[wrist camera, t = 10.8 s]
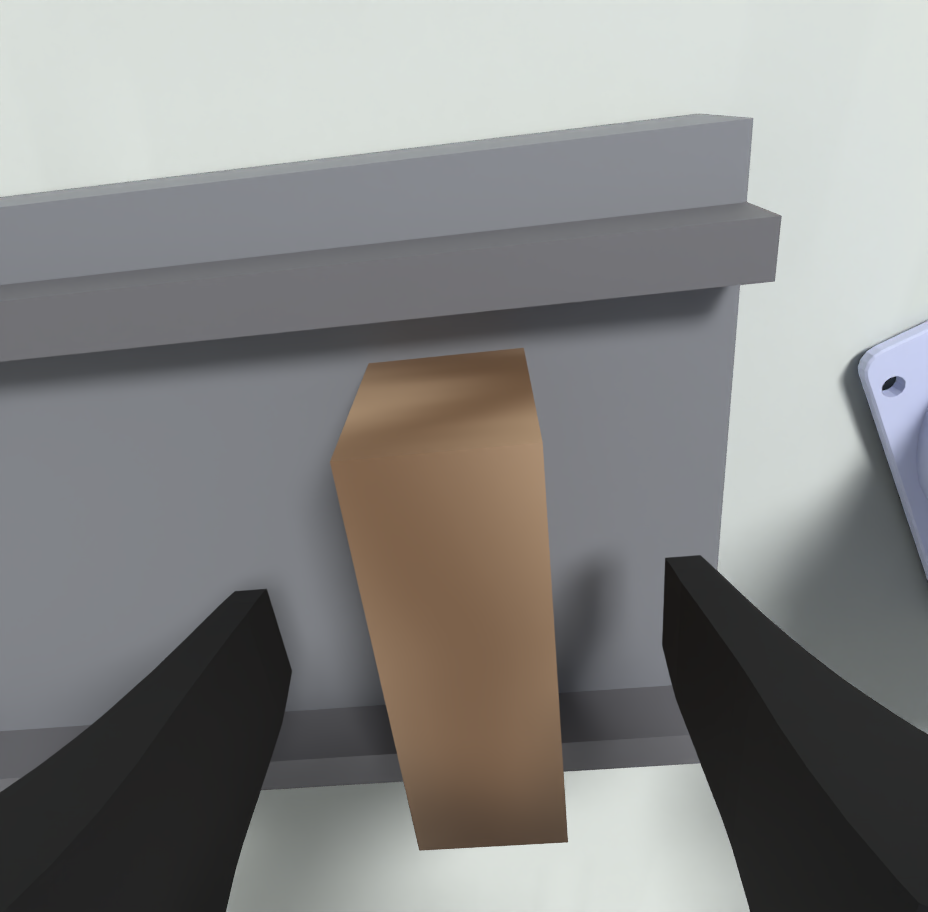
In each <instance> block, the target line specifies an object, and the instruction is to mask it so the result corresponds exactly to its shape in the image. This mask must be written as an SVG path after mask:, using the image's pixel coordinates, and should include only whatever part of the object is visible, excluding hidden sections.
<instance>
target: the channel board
mask: <svg viewBox="0 0 928 912" xmlns="http://www.w3.org/2000/svg"><path fill="white" fill-rule="evenodd" d="M752 128H753V118H746V117H733V116H721V115H709V114H693V115H684V116H676V117H668V118H659V119H651V120H643V121H634V122H626V123H618V124H609V125H601V126H592V127H584V128H576V129H567V130H559V131H551V132H542V133H534V134H525V135H517V136H509V137H500V138H492V139H484V140H475V141H467V142H459V143H450V144H442V145H433V146H425V147H417V148H408V149H400V150H392V151H383V152H375V153H367V154H358V155H350V156H341V157H333V158H325V159H316V160H308V161H300V162H291V163H283V164H275V165H266V166H258V167H249V168H241V169H233V170H224V171H216V172H208V173H199V174H191V175H182V176H174V177H166V178H157V179H149V180H141V181H132V182H124V183H116V184H107V185H99V186H90V187H82V188H74V189H65V190H57V191H49V192H40V193H32V194H23V195H15V196H7V197H0V792H1V791H3V790H4V789H6V788H7V787H9V786H10V785H11V784H13V783H14V782H16V781H17V780H19V779H20V778H22V777H23V776H25V775H26V774H27V773H29V772H30V771H32V770H33V769H35V768H36V767H37V766H39V765H40V764H42V763H43V762H44V761H46V760H47V759H48V758H50V757H51V756H52V755H54V754H55V753H56V752H57V751H59V750H60V749H61V748H63V747H64V746H65V745H67V744H68V743H69V742H70V741H72V740H73V739H74V738H76V737H77V736H78V735H79V734H81V733H82V732H83V731H84V730H86V729H87V728H88V727H89V726H90V725H92V724H93V723H94V722H95V721H97V720H98V719H99V718H100V717H101V716H102V715H104V714H105V713H106V712H107V711H108V710H109V709H110V708H112V707H113V706H114V705H115V704H116V703H117V702H118V701H119V700H121V699H122V698H123V697H124V696H125V695H126V694H127V693H128V692H129V691H131V690H132V689H133V688H134V687H135V686H136V685H137V684H138V683H140V682H141V681H142V680H143V679H144V678H145V677H146V676H147V675H148V674H150V673H151V672H152V671H153V670H154V669H155V668H156V667H157V666H158V665H159V664H160V663H161V662H162V661H163V660H164V659H165V658H166V657H167V656H168V655H169V654H170V653H171V652H172V651H174V650H175V649H176V648H177V647H178V646H179V645H180V644H181V643H182V642H183V641H184V640H185V639H186V638H187V637H188V636H189V635H190V634H191V633H192V632H193V631H194V630H195V629H196V628H197V627H198V626H199V625H200V624H201V623H202V622H203V621H204V620H205V619H206V618H207V617H208V616H209V615H210V614H211V613H212V612H213V611H214V610H215V609H216V608H217V607H218V606H219V605H220V604H221V603H222V602H223V601H224V600H226V599H227V598H228V597H229V596H230V595H231V594H232V593H233V592H234V591H244V590H257V589H267V591H268V594H269V597H270V601H271V604H272V607H273V610H274V614H275V617H276V620H277V623H278V627H279V630H280V633H281V636H282V639H283V643H284V646H285V649H286V652H287V656H288V659H289V662H290V665H291V669H292V675H291V681H290V686H289V692H288V698H287V703H286V708H285V713H284V718H283V723H282V726H281V729H280V733H279V736H278V739H277V742H276V745H275V748H274V751H273V754H272V758H271V761H270V764H269V767H268V770H267V773H266V776H265V779H264V782H263V785H262V788H261V790H271V789H287V788H303V787H320V786H336V785H352V784H369V783H385V782H401V781H403V777H402V773H401V769H400V764H399V760H398V756H397V751H396V747H395V743H394V738H393V734H392V730H391V725H390V721H389V717H388V712H387V708H386V704H385V699H384V695H383V690H382V686H381V682H380V677H379V673H378V669H377V664H376V660H375V656H374V651H373V647H372V643H371V638H370V634H369V630H368V625H367V621H366V617H365V612H364V608H363V604H362V599H361V595H360V591H359V586H358V582H357V578H356V573H355V569H354V564H353V560H352V556H351V551H350V547H349V543H348V538H347V534H346V530H345V525H344V521H343V517H342V512H341V508H340V504H339V499H338V495H337V491H336V486H335V482H334V478H333V473H332V469H331V465H330V460H331V458H332V455H333V453H334V450H335V448H336V445H337V443H338V440H339V437H340V435H341V432H342V430H343V427H344V425H345V422H346V420H347V417H348V415H349V412H350V409H351V407H352V404H353V402H354V399H355V397H356V394H357V392H358V389H359V387H360V384H361V381H362V379H363V376H364V374H365V371H366V369H367V366H368V364H369V363H377V362H387V361H397V360H407V359H417V358H426V357H436V356H446V355H456V354H466V353H476V352H486V351H496V350H506V349H515V348H524V351H525V356H526V361H527V366H528V371H529V376H530V381H531V386H532V391H533V396H534V401H535V406H536V411H537V417H538V422H539V427H540V432H541V437H542V442H543V456H544V472H545V488H546V504H547V519H548V535H549V551H550V567H551V583H552V599H553V614H554V630H555V646H556V662H557V678H558V694H559V709H560V725H561V741H562V757H563V772H565V771H581V770H597V769H614V768H630V767H646V766H663V765H679V764H695V763H700V761H699V758H698V756H697V753H696V750H695V748H694V745H693V743H692V740H691V738H690V735H689V732H688V730H687V727H686V725H685V722H684V719H683V717H682V714H681V712H680V709H679V706H678V704H677V701H676V698H675V694H674V691H673V687H672V683H671V679H670V676H669V672H668V668H667V663H666V659H665V655H664V651H663V647H662V632H663V604H664V575H665V558H669V557H682V556H695V555H701V556H702V557H703V558H704V559H705V560H707V561H708V562H709V563H710V564H711V565H712V566H713V567H714V568H715V569H716V570H717V565H718V552H719V540H720V528H721V515H722V503H723V490H724V478H725V465H726V453H727V440H728V428H729V415H730V403H731V390H732V378H733V365H734V353H735V340H736V328H737V315H738V303H739V290H740V285H745V284H754V283H764V282H773V281H775V274H776V264H777V254H778V245H779V235H780V225H781V215H778V214H776V213H773V212H771V211H768V210H765V209H763V208H760V207H758V206H755V205H753V204H750V203H748V202H747V190H748V178H749V165H750V153H751V141H752Z"/></svg>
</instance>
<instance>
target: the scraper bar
mask: <svg viewBox="0 0 928 912" xmlns="http://www.w3.org/2000/svg"><path fill="white" fill-rule="evenodd" d="M330 465H331V469H332V473H333V478H334V482H335V486H336V491H337V495H338V499H339V504H340V508H341V512H342V517H343V521H344V525H345V530H346V534H347V538H348V543H349V547H350V551H351V556H352V560H353V564H354V569H355V573H356V578H357V582H358V586H359V591H360V595H361V599H362V604H363V608H364V612H365V617H366V621H367V625H368V630H369V634H370V638H371V643H372V647H373V651H374V656H375V660H376V664H377V669H378V673H379V677H380V682H381V686H382V690H383V695H384V699H385V704H386V708H387V712H388V717H389V721H390V725H391V730H392V734H393V738H394V743H395V747H396V751H397V756H398V760H399V764H400V769H401V773H402V777H403V782H404V786H405V790H406V795H407V799H408V803H409V808H410V812H411V816H412V821H413V825H414V829H415V834H416V838H417V843H418V847H419V850H437V849H455V848H473V847H491V846H509V845H527V844H545V843H563V842H568V836H567V820H566V804H565V789H564V773H563V757H562V741H561V725H560V709H559V694H558V678H557V662H556V646H555V630H554V614H553V599H552V583H551V567H550V551H549V535H548V519H547V504H546V488H545V472H544V456H543V442H542V437H541V432H540V427H539V422H538V417H537V411H536V406H535V401H534V396H533V391H532V386H531V381H530V376H529V371H528V366H527V361H526V356H525V351H524V348H515V349H506V350H496V351H486V352H476V353H466V354H456V355H446V356H436V357H426V358H417V359H407V360H397V361H387V362H377V363H369V364H368V366H367V369H366V371H365V374H364V376H363V379H362V381H361V384H360V387H359V389H358V392H357V394H356V397H355V399H354V402H353V404H352V407H351V409H350V412H349V415H348V417H347V420H346V422H345V425H344V427H343V430H342V432H341V435H340V437H339V440H338V443H337V445H336V448H335V450H334V453H333V455H332V458H331V460H330Z"/></svg>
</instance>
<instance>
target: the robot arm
mask: <svg viewBox="0 0 928 912" xmlns="http://www.w3.org/2000/svg"><path fill="white" fill-rule="evenodd" d="M858 373H859V377H860V380H861V383H862V386H863V389H864V392H865V395H866V398H867V401H868V404H869V407H870V410H871V413H872V416H873V419H874V422H875V425H876V428H877V431H878V434H879V437H880V440H881V443H882V446H883V449H884V452H885V455H886V458H887V461H888V464H889V466H890V469H891V472H892V475H893V478H894V481H895V484H896V487H897V490H898V493H899V496H900V499H901V502H902V505H903V508H904V511H905V514H906V517H907V520H908V523H909V526H910V529H911V532H912V535H913V538H914V541H915V544H916V547H917V550H918V553H919V556H920V559H921V562H922V565H923V568H924V571H925V574H926V577H927V580H928V321H927V322H924V323H922V324H920V325H918V326H916V327H914V328H912V329H910V330H908V331H905V332H903V333H901V334H899V335H897V336H895V337H893V338H891V339H889V340H886V341H884V342H882V343H880V344H878V345H876V346H874V347H873V348H871V349H870V350H868V351H867V352H866V353H865V354H864V355H863V357H862V358H861V359H860V362H859V365H858ZM895 376H896V381H895V383H894V385H893V386H892V387H890V388H889V389H888V390H884V391H882V386H883V384H884V383H885V381H886V380H888V379H889V378H891V377H895ZM662 647H663V651H664V655H665V659H666V663H667V668H668V672H669V676H670V679H671V683H672V687H673V691H674V694H675V698H676V701H677V704H678V706H679V709H680V712H681V714H682V717H683V719H684V722H685V725H686V727H687V730H688V732H689V735H690V738H691V740H692V743H693V745H694V748H695V750H696V753H697V756H698V758H699V761H700V763H701V766H702V768H703V771H704V774H705V776H706V779H707V781H708V784H709V786H710V789H711V792H712V794H713V797H714V799H715V802H716V804H717V807H718V809H719V812H720V815H721V817H722V820H723V823H724V826H725V829H726V831H727V834H728V837H729V840H730V843H731V846H732V849H733V853H734V856H735V860H736V863H737V867H738V870H739V874H740V877H741V881H742V884H743V888H744V891H745V895H746V898H747V902H748V905H749V909H750V912H928V734H926V733H925V732H923V731H921V730H919V729H918V728H916V727H914V726H913V725H911V724H910V723H908V722H906V721H905V720H903V719H902V718H900V717H898V716H897V715H895V714H894V713H892V712H891V711H889V710H888V709H886V708H885V707H883V706H882V705H880V704H879V703H877V702H876V701H874V700H873V699H871V698H870V697H868V696H867V695H865V694H864V693H862V692H861V691H860V690H858V689H857V688H855V687H854V686H852V685H851V684H849V683H848V682H847V681H845V680H844V679H842V678H841V677H840V676H838V675H837V674H836V673H834V672H833V671H832V670H830V669H829V668H828V667H826V666H825V665H824V664H823V663H821V662H820V661H819V660H817V659H816V658H815V657H814V656H812V655H811V654H810V653H808V652H807V651H806V650H805V649H804V648H802V647H801V646H800V645H799V644H798V643H796V642H795V641H794V640H793V639H792V638H790V637H789V636H788V635H787V634H786V633H785V632H783V631H782V630H781V629H780V628H779V627H778V626H777V625H775V624H774V623H773V622H772V621H771V620H770V619H769V618H767V617H766V616H765V615H764V614H763V613H762V612H761V611H760V610H758V609H757V608H756V607H755V606H754V605H753V604H752V603H751V602H750V601H749V600H748V599H746V598H745V597H744V596H743V595H742V594H741V593H740V592H739V591H738V590H737V589H736V588H735V587H734V586H733V585H732V584H731V583H730V582H728V581H727V580H726V579H725V578H724V577H723V576H722V575H721V574H720V573H719V572H718V571H717V570H716V569H715V568H714V567H713V566H712V565H711V564H710V563H709V562H708V561H707V560H705V559H704V558H703V557H702V556H701V555H695V556H682V557H669V558H665V575H664V604H663V632H662ZM291 675H292V669H291V665H290V662H289V659H288V656H287V652H286V649H285V646H284V643H283V639H282V636H281V633H280V630H279V627H278V623H277V620H276V617H275V614H274V610H273V607H272V604H271V601H270V597H269V594H268V591H267V589H257V590H244V591H234V592H233V593H232V594H231V595H230V596H229V597H228V598H227V599H226V600H224V601H223V602H222V603H221V604H220V605H219V606H218V607H217V608H216V609H215V610H214V611H213V612H212V613H211V614H210V615H209V616H208V617H207V618H206V619H205V620H204V621H203V622H202V623H201V624H200V625H199V626H198V627H197V628H196V629H195V630H194V631H193V632H192V633H191V634H190V635H189V636H188V637H187V638H186V639H185V640H184V641H183V642H182V643H181V644H180V645H179V646H178V647H177V648H176V649H175V650H174V651H172V652H171V653H170V654H169V655H168V656H167V657H166V658H165V659H164V660H163V661H162V662H161V663H160V664H159V665H158V666H157V667H156V668H155V669H154V670H153V671H152V672H151V673H150V674H148V675H147V676H146V677H145V678H144V679H143V680H142V681H141V682H140V683H138V684H137V685H136V686H135V687H134V688H133V689H132V690H131V691H129V692H128V693H127V694H126V695H125V696H124V697H123V698H122V699H121V700H119V701H118V702H117V703H116V704H115V705H114V706H113V707H112V708H110V709H109V710H108V711H107V712H106V713H105V714H104V715H102V716H101V717H100V718H99V719H98V720H97V721H95V722H94V723H93V724H92V725H90V726H89V727H88V728H87V729H86V730H84V731H83V732H82V733H81V734H79V735H78V736H77V737H76V738H74V739H73V740H72V741H70V742H69V743H68V744H67V745H65V746H64V747H63V748H61V749H60V750H59V751H57V752H56V753H55V754H54V755H52V756H51V757H50V758H48V759H47V760H46V761H44V762H43V763H42V764H40V765H39V766H37V767H36V768H35V769H33V770H32V771H30V772H29V773H27V774H26V775H25V776H23V777H22V778H20V779H19V780H17V781H16V782H14V783H13V784H11V785H10V786H9V787H7V788H6V789H4V790H3V791H1V792H0V912H226V909H227V904H228V900H229V896H230V891H231V887H232V882H233V878H234V874H235V870H236V866H237V863H238V859H239V856H240V852H241V849H242V845H243V842H244V839H245V836H246V833H247V830H248V827H249V824H250V821H251V818H252V815H253V812H254V809H255V806H256V803H257V800H258V797H259V794H260V791H261V788H262V785H263V782H264V779H265V776H266V773H267V770H268V767H269V764H270V761H271V758H272V754H273V751H274V748H275V745H276V742H277V739H278V736H279V733H280V729H281V726H282V723H283V718H284V713H285V708H286V703H287V698H288V692H289V686H290V681H291Z"/></svg>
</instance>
